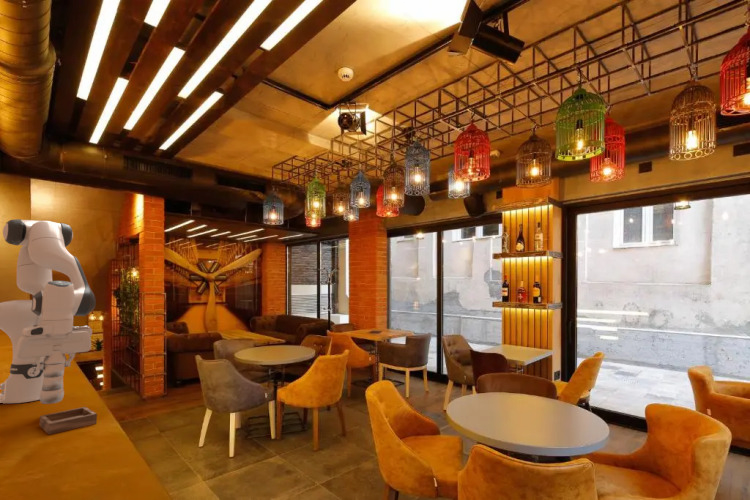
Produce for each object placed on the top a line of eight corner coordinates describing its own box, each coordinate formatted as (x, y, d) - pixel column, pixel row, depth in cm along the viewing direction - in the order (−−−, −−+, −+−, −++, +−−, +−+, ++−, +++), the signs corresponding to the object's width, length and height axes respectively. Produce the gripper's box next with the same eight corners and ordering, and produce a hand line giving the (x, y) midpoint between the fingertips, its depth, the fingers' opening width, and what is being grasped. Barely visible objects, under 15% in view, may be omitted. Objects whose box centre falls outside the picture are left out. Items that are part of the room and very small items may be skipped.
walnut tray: (39, 425, 124) (40, 416, 124) (84, 415, 133) (85, 406, 133) (48, 434, 116) (49, 424, 117) (96, 423, 126) (96, 413, 126)
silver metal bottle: (49, 407, 130) (55, 347, 131) (33, 405, 131) (38, 345, 132) (68, 401, 136) (73, 343, 137) (52, 398, 137) (57, 341, 138)
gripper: (89, 324, 145) (87, 362, 144) (16, 329, 129) (12, 371, 128) (95, 325, 141) (92, 364, 140) (20, 331, 125) (16, 375, 124)
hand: (53, 368), depth 134 cm, fingers closed on silver metal bottle, 6 cm apart
